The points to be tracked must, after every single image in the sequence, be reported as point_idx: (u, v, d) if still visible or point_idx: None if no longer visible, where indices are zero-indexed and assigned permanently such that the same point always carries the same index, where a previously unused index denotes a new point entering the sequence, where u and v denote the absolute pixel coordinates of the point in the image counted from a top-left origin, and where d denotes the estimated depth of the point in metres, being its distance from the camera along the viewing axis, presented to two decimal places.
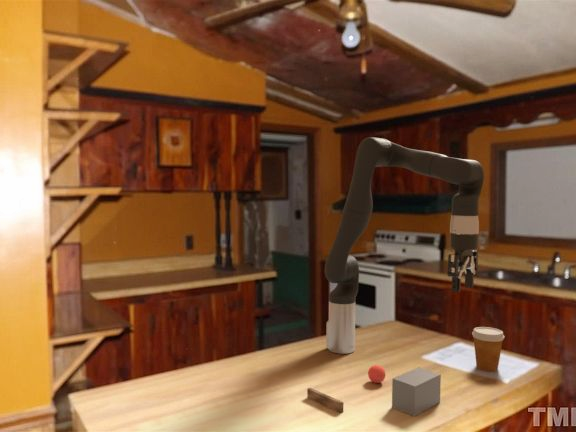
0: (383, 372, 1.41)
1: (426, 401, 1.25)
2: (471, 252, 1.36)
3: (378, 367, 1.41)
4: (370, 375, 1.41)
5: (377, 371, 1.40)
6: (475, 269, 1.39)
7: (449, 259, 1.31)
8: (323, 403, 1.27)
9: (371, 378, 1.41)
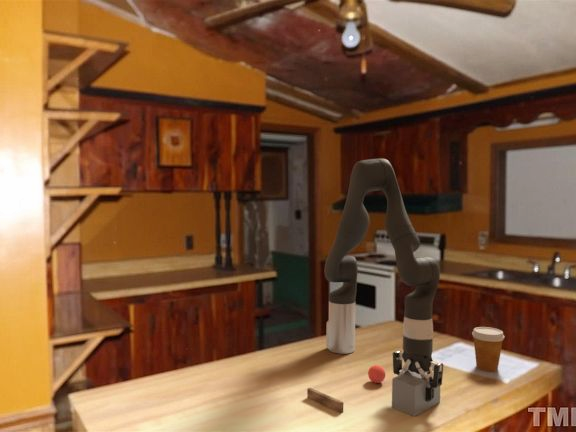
0: (383, 372, 1.41)
1: (426, 401, 1.25)
2: None
3: (378, 367, 1.41)
4: (370, 375, 1.41)
5: (377, 371, 1.40)
6: (402, 370, 1.32)
7: (438, 370, 1.22)
8: (323, 403, 1.27)
9: (371, 378, 1.41)
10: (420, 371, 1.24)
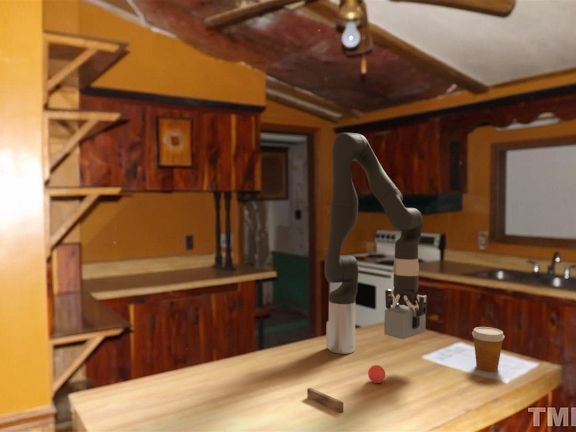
0: (383, 372, 1.41)
1: None
2: None
3: (378, 367, 1.41)
4: (370, 375, 1.41)
5: (377, 371, 1.40)
6: None
7: (423, 301, 1.45)
8: (323, 403, 1.27)
9: (371, 378, 1.41)
10: (408, 303, 1.48)
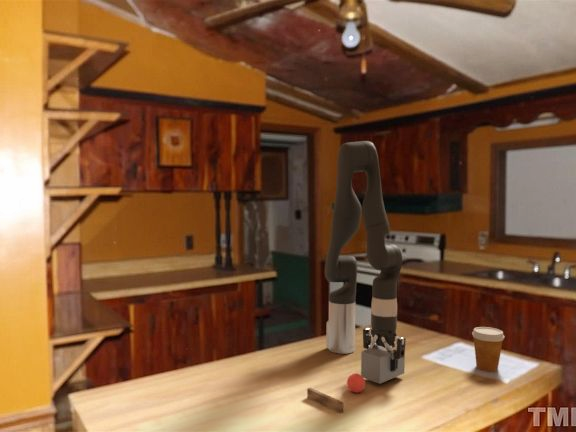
0: (363, 388, 1.34)
1: None
2: None
3: None
4: None
5: None
6: None
7: (401, 343, 1.38)
8: (323, 403, 1.27)
9: None
10: (385, 345, 1.41)
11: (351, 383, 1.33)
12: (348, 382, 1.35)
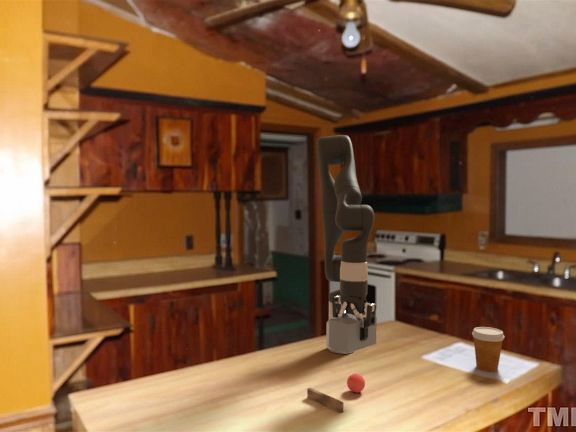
0: (363, 388, 1.34)
1: None
2: None
3: None
4: None
5: None
6: None
7: (371, 310, 1.28)
8: (323, 403, 1.27)
9: None
10: (355, 312, 1.31)
11: (351, 383, 1.33)
12: (348, 382, 1.35)
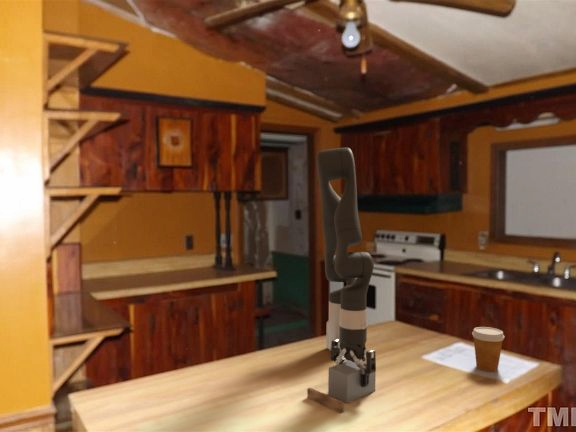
0: None
1: (360, 389, 1.32)
2: None
3: None
4: None
5: None
6: None
7: (370, 356, 1.29)
8: (323, 403, 1.27)
9: None
10: (355, 359, 1.31)
11: None
12: None
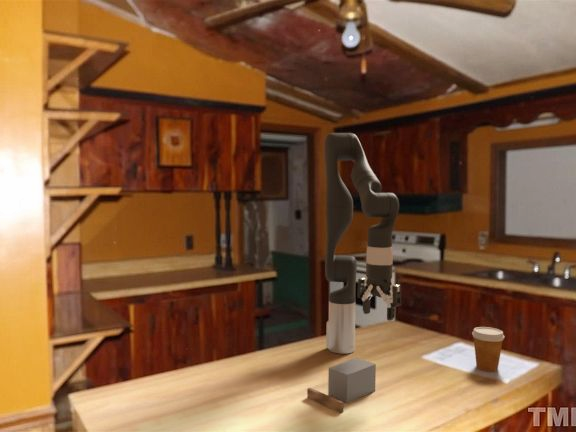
0: None
1: (360, 389, 1.32)
2: None
3: None
4: None
5: None
6: (365, 295, 1.47)
7: (396, 290, 1.35)
8: (323, 403, 1.27)
9: None
10: (381, 294, 1.38)
11: None
12: None
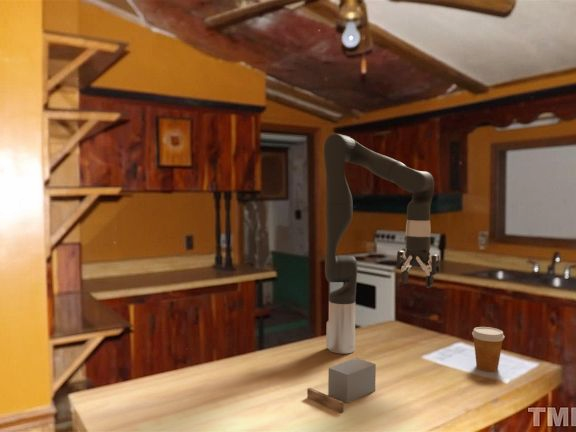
0: None
1: (360, 389, 1.32)
2: None
3: None
4: None
5: None
6: None
7: (435, 259, 1.48)
8: (323, 403, 1.27)
9: None
10: (420, 263, 1.51)
11: None
12: None
